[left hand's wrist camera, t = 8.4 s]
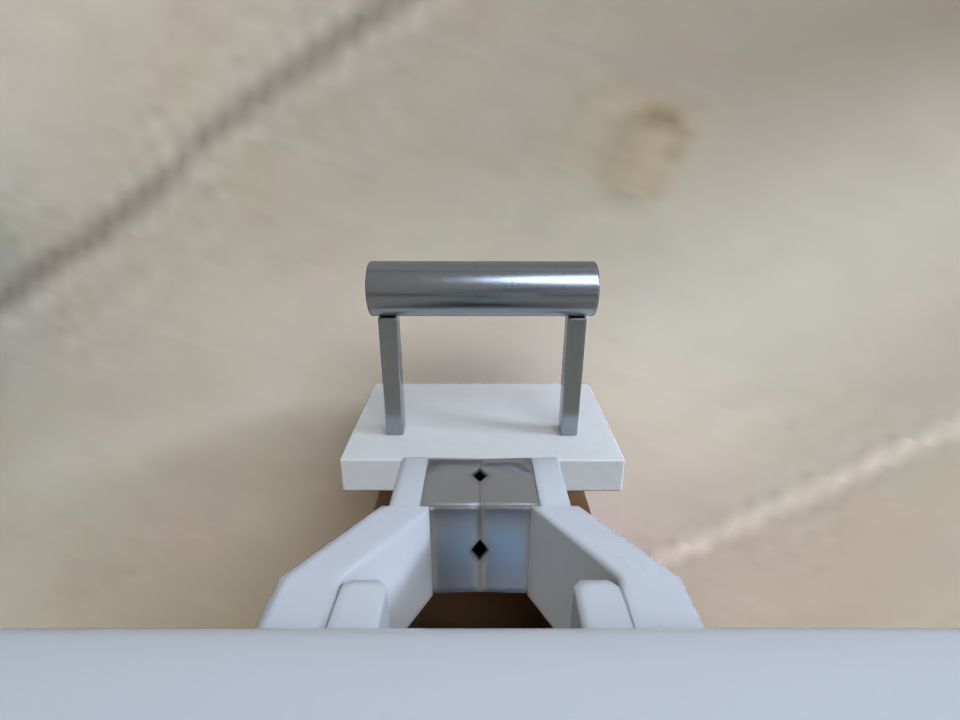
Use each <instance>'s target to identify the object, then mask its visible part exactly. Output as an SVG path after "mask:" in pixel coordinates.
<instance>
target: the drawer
mask: <svg viewBox="0 0 960 720" xmlns="http://www.w3.org/2000/svg"><path fill="white" fill-rule="evenodd" d="M599 292H600V279H599V270H598V266H597V264H596V262H594V261H371V262H369V263H368V266H367V270H366V278H365V293H366V302H367V307H368V310H369V313H370V315H372V316H379V318H378V325H379V339H380V352H381V365H382V379H383V384H375V385H374V387H373V389H372V391H371V394H370V396H369V398H368V400H367V402H366V404H365V406H364V409H363V411H362V413H361V415H360V417H359V419H358V421H357V424H356V426H355V428H354V430H353V432H352V434H351V436H350V439H349V441H348V443H347V445H346V447H345V449H344V451H343V454H342V456H341V458H340V460H339V461H340V470H341V478H342V487H343V490H380V492H379V495H378V498H377V502H376V505H375V508H374V511H375V510H377V509H378V508H379V507H381V506H389V504H390V500H391V497H392V493H393V489H394V486H395V482H396V478H397V475H398V471H399V467H400V464H401V460H402V459H403V458H404V457H428V458H429V459H430V457H433V458H480V459H498V458H539V457H556V458H557V459H558V461H559V464H560V468H561V472H562V475H563V479H564V482H565V486H566V490H567V493H568V497H569V500H570V504H571V506H579V507H581V508H582V509H583V510H585V511H586V512H588V513H589V514H590V515H591V512H590V509H589V506H588V503H587V499H586V496H585V493H584V491H620V490H621V489H622V480H623V472H624V464H625V460H624V458H623V455H622V453H621V451H620V449H619V447H618V445H617V443H616V441H615V439H614V436H613V434H612V432H611V430H610V428H609V426H608V424H607V422H606V420H605V418H604V415H603V413H602V411H601V409H600V407H599V405H598V403H597V401H596V399H595V397H594V394H593V392H592V390H591V388H590V386H589V384H581V383H582V370H583V358H584V345H585V333H586V320H587V319H586V317H585V316H593V315H594V314H595V313H596V310H597V307H598V301H599ZM399 316H565V330H564V345H563V361H562V377H561V384H403V372H402V355H401V338H400V321H399ZM408 628H553V627H552V626H551V625H550V623H549V622H548V621H547V620H546V618H545V617H544V616H543V614H542V613H541V612H540V611H539V609H538V608H537V607H536V605H535V604H534V603H533V602H532V600H531V599H530V598H529V597H528V595H527V593H512V592H448V593H433V596H432V597H431V598H430V600H429V601H428V602H427V603H426V605H425V606H424V607H423V609H422V610H421V611H420V612H419V614H418V615H417V616H416V617H415V619H414V620H413V621H412V622H411V624H410V625H409V626H408Z"/></svg>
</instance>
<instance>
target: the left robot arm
mask: <svg viewBox="0 0 960 720" xmlns="http://www.w3.org/2000/svg"><path fill="white" fill-rule="evenodd" d="M448 592H512V593H527V595H528V597H529V598H530V599H531V600H532V602H533V603H534V604H535V605H536V607H537V608H538V609H539V611H540V612H541V613H542V614H543V616H544V617H545V618H546V620H547V621H548V622H549V623H550V625H551V626H552V627H553V628H408V626H409V625H410V624H411V622H412V621H413V620H414V619H415V617H416V616H417V615H418V614H419V612H420V611H421V610H422V609H423V607H424V606H425V605H426V603H427V602H428V601H429V600H430V598H431V597H432V596H433V593H448ZM0 720H960V628H704V626H703V624H702V622H701V620H700V618H699V616H698V613H697V611H696V609H695V607H694V605H693V603H692V601H691V599H690V597H689V595H688V593H687V591H686V589H685V587H684V585H683V583H682V581H681V579H680V578H679V577H678V576H676V575H675V574H674V573H672V572H671V571H669V570H668V569H666V568H665V567H664V566H662V565H661V564H659V563H658V562H657V561H655V560H654V559H652V558H651V557H650V556H648V555H647V554H645V553H644V552H643V551H641V550H640V549H638V548H637V547H635V546H634V545H633V544H631V543H630V542H628V541H627V540H626V539H624V538H623V537H621V536H620V535H619V534H617V533H616V532H614V531H613V530H612V529H610V528H609V527H607V526H606V525H605V524H603V523H602V522H600V521H599V520H597V519H596V518H595V517H593V516H592V515H590V514H589V513H588V512H586V511H585V510H583V509H582V508H581V507H579V506H571V504H570V500H569V497H568V493H567V490H566V486H565V482H564V479H563V475H562V472H561V468H560V464H559V461H558V459H557V458H556V457H539V458H498V459H480V458H433V457H430V459H429V458H428V457H404V458H403V459H402V460H401V464H400V467H399V471H398V475H397V478H396V482H395V486H394V489H393V493H392V497H391V500H390V504H389V506H381V507H379V508H378V509H377V510H375V511H374V512H372V513H371V514H370V515H368V516H367V517H365V518H364V519H362V520H361V521H360V522H358V523H357V524H355V525H354V526H353V527H351V528H350V529H348V530H347V531H345V532H344V533H343V534H341V535H340V536H338V537H337V538H336V539H334V540H333V541H331V542H330V543H329V544H327V545H326V546H324V547H323V548H321V549H320V550H319V551H317V552H316V553H314V554H313V555H312V556H310V557H309V558H307V559H306V560H304V561H303V562H302V563H300V564H299V565H297V566H296V567H295V568H293V569H292V570H290V571H289V572H287V573H286V574H285V575H283V576H282V577H280V579H279V581H278V583H277V585H276V587H275V589H274V591H273V593H272V595H271V597H270V599H269V602H268V604H267V606H266V608H265V610H264V612H263V614H262V616H261V618H260V620H259V622H258V624H257V626H256V628H0Z"/></svg>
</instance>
